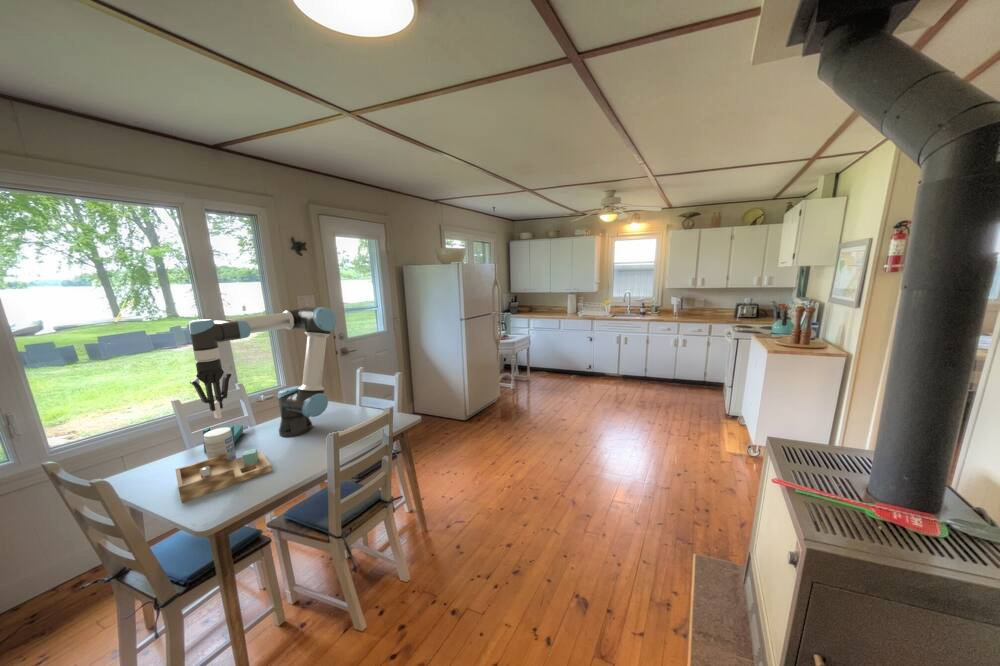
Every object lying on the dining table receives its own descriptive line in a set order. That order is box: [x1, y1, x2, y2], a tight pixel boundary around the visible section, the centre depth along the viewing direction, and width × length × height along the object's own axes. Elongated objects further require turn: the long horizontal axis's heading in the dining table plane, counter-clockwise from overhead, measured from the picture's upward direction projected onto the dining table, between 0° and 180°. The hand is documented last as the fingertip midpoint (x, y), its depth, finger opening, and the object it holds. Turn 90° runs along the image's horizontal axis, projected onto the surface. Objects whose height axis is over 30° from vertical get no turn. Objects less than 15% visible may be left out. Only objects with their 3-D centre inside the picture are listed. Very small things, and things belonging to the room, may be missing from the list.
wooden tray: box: [175, 450, 272, 504], centre depth 143 cm, size 28×18×6 cm, turn 135°
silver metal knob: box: [200, 466, 211, 478], centre depth 135 cm, size 3×3×6 cm
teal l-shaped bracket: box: [202, 424, 244, 453], centre depth 175 cm, size 18×11×10 cm, turn 22°
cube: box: [241, 447, 258, 466], centre depth 150 cm, size 4×4×4 cm
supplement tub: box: [203, 426, 237, 461], centre depth 153 cm, size 10×10×15 cm
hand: (218, 417), depth 142 cm, fingers closed
